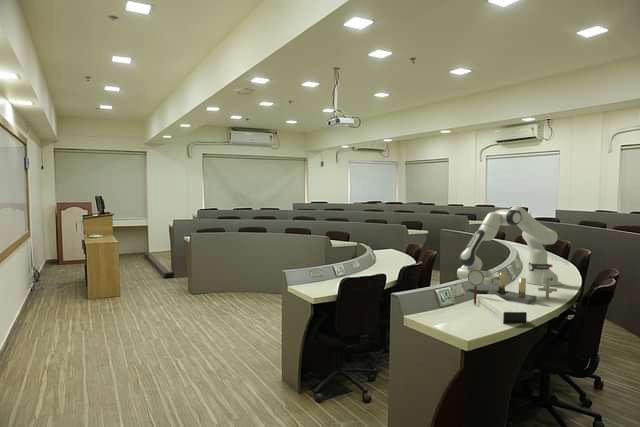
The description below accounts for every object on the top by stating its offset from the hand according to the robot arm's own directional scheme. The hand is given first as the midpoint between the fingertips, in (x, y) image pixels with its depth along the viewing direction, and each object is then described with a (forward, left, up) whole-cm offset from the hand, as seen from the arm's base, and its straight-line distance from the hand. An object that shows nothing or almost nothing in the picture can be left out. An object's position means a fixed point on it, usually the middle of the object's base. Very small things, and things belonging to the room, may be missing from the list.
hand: (503, 281), depth 250 cm
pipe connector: (-25, +5, -10) cm, 28 cm away
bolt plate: (-3, +4, -9) cm, 11 cm away
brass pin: (+1, -1, -8) cm, 8 cm away
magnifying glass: (+27, +16, -10) cm, 33 cm away
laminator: (+21, +32, -10) cm, 40 cm away
